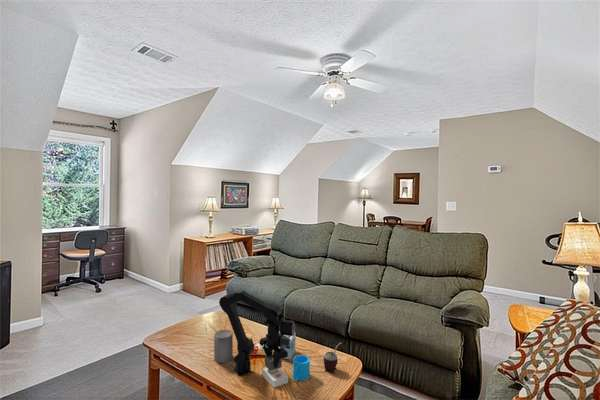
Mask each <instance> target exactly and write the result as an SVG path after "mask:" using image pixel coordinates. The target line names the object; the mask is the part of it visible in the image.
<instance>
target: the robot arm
mask: <svg viewBox="0 0 600 400" xmlns="http://www.w3.org/2000/svg"><path fill="white" fill-rule="evenodd" d="M238 302H241V303H244V304H246V305H247V306H250V307H251V308H253V309H255V310H257V311H259V312H260V313H261V314H262V316H263V317H264V318H265V321H263V325H267V334H265V337H261V338H260V340H259V345H260V346H261V347H262V349H263V352H264V354H265V357H268V356H271V357H272V361H273V364H274V367H275V368H277V366H278V363H279V361H280V359H283V358H286V357H288V352H287V351H286V350H285V349H284V348H280V347H281V346H282V345H286V346H288V345H289V342H290V339H289V338H288V337H286V336H284V335H288V336H294V333H295V332H296V323H295V321H294V320H286V317H285V316H284V314H283V313H282V310H281V307H280V306H279V305H276V304H273V303H270V302H269V303H267V302H265V301H263V300H261V299H259V298H257V297H255V296H253V295H252V294H250V293H248V292H247V291H245V290H240V291H238V292H234V293H230V292H229V293H227V294H226V295H224V296H222V297H221V298H220V299H219V302H218V304H219V306H220V309H221V310H222V311H223V312H224V313H225V314H226V316H227V317H228V320H229V323H230V326H231V328H232V330H233V331H232V332H233V333H234V336H235V339H236V342H237V343H236V344H237V347H236V348H237V349H236V350H237V354H236V355H235V356H233V357H234V358H233V361H234V363H235V368H234V369H233V371H234V372H235V373H236V374H237V376H239V377H240V376H244V375H248V374H250V373H252V370H251V359H250V356H251V355H252V354H253V353H254V352H255V344H254V342H253V338H250V339H249V338H248V336H247V335H246V332H245V329H244V326H243V324H242V321H241V319H240V316H239V314H238V310H237V305H238V304H237V303H238Z"/></svg>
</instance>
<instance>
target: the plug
mask: <svg viewBox="0 0 600 400" xmlns="http://www.w3.org/2000/svg"><path fill="white" fill-rule="evenodd" d="M282 359H283V358H282ZM282 359H280V361H279V363H278V366H277V368H275V367H274V364H273V361H272V357H271V356H268V357H267V356H265V357H264V367H265V368H268V371H269V372H270V373H271V374H273V373H277V372H278V368H280V369H281V368H282Z"/></svg>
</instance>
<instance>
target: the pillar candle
mask: <svg viewBox="0 0 600 400" xmlns="http://www.w3.org/2000/svg"><path fill="white" fill-rule="evenodd" d="M233 333H234V331H232V330H230V329H220V330H216V332H214V334H213V335H214V337H213V339H214V341H213V342H214V344H213V347H214V348H213V349H214V351H213V353H214V354H213V358H214V359H213V360H214V362H215V363H217V364H222V363H223V364H224V363H228V362H230V361H232V360H233V357H234V353H233V352H234V351H233V349H234V348H233V345H234V344H233V343H234V342H233V340H234V339H233Z"/></svg>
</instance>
